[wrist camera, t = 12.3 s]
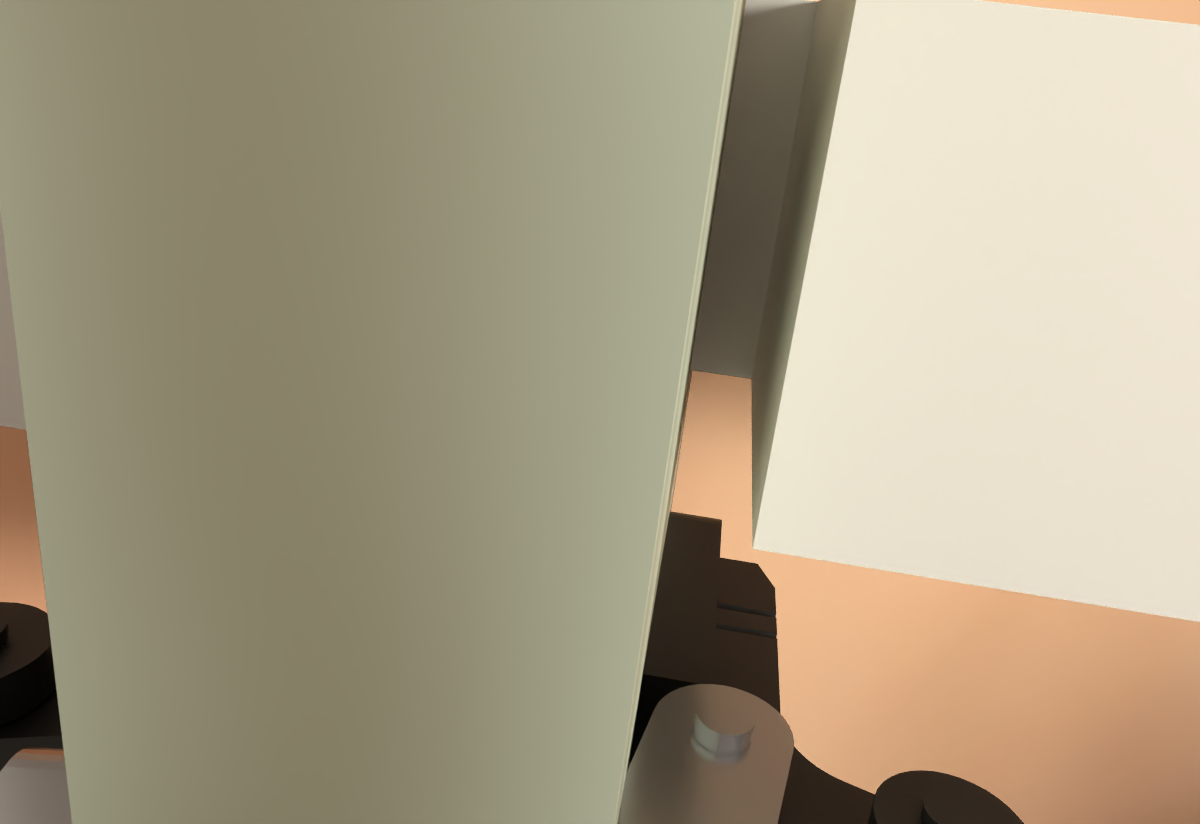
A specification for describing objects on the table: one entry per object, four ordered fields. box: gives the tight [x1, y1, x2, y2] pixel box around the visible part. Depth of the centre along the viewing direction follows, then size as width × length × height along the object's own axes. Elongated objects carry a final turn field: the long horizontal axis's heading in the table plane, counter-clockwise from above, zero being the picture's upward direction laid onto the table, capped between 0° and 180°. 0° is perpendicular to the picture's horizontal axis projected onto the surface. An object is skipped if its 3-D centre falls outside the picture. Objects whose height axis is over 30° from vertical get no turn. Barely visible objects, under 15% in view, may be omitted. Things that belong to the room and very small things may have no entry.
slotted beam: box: [0, 0, 1200, 622], centre depth 11 cm, size 24×4×8 cm, turn 84°
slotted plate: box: [0, 0, 746, 824], centre depth 9 cm, size 3×14×10 cm, turn 174°
